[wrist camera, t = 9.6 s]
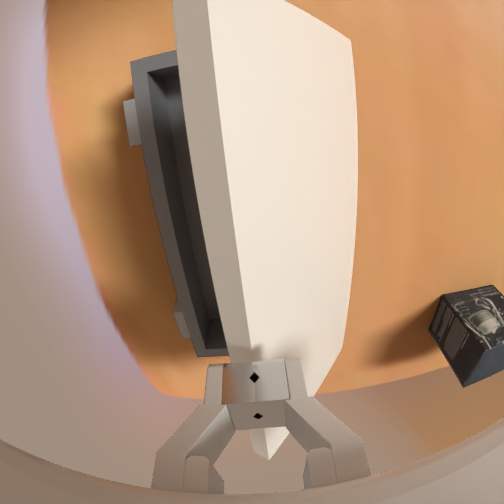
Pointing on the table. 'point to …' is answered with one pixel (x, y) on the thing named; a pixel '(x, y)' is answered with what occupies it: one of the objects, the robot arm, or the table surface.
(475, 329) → the box
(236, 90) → the cover
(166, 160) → the trough
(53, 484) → the robot arm
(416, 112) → the table surface
